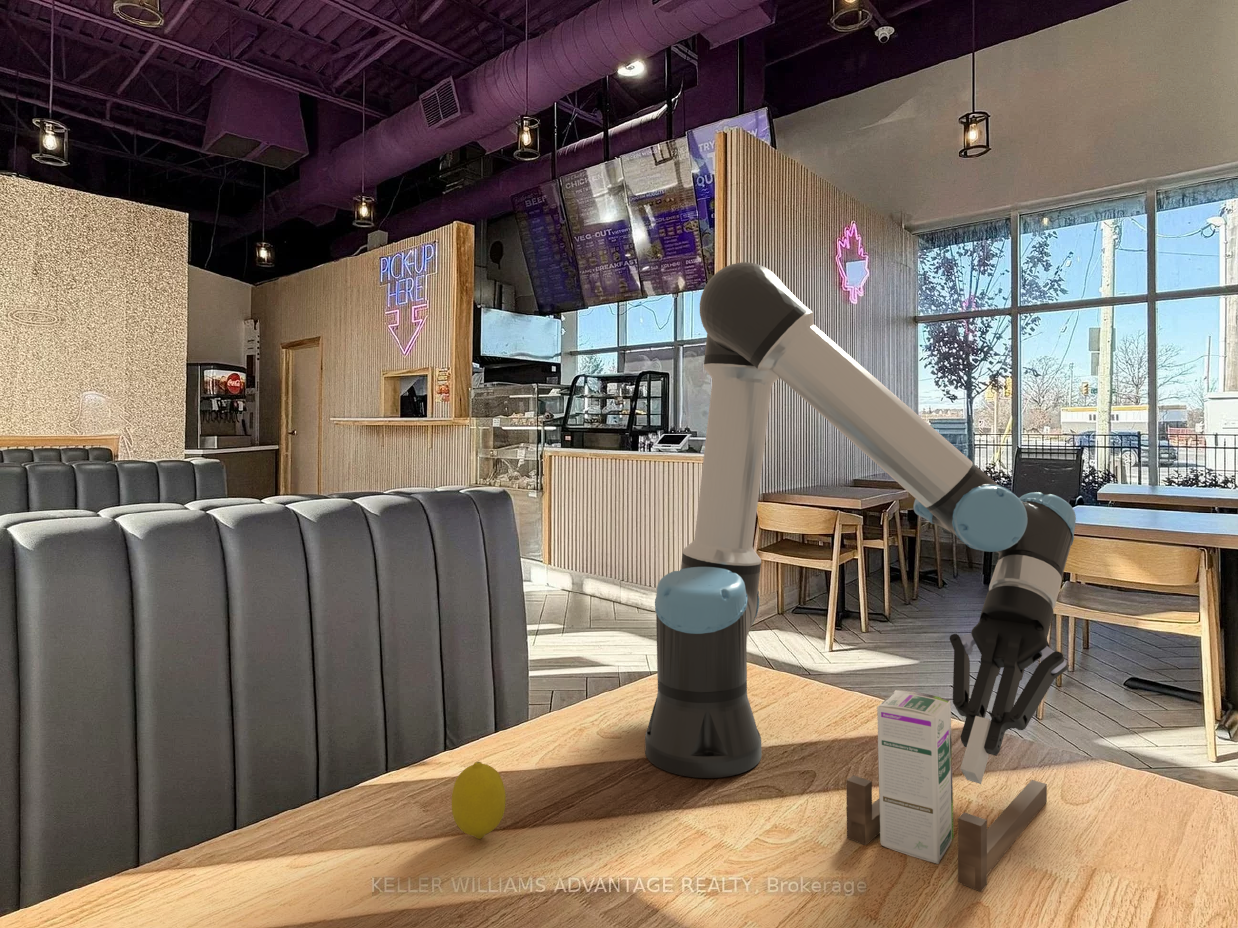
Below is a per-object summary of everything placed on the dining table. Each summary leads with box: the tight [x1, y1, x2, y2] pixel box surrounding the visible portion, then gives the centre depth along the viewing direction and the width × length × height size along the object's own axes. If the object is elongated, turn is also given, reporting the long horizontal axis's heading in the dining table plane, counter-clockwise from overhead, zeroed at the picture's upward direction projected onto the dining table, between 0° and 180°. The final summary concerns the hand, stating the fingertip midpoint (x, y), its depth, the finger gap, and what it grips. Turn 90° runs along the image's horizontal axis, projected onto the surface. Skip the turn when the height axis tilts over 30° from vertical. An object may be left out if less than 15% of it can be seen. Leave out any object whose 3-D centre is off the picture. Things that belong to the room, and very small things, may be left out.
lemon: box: [451, 761, 507, 840], centre depth 76 cm, size 6×6×8 cm
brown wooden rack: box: [845, 774, 1048, 893], centre depth 78 cm, size 13×22×6 cm, turn 135°
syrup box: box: [876, 689, 955, 865], centre depth 73 cm, size 6×6×14 cm
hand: (970, 776), depth 80 cm, fingers closed
